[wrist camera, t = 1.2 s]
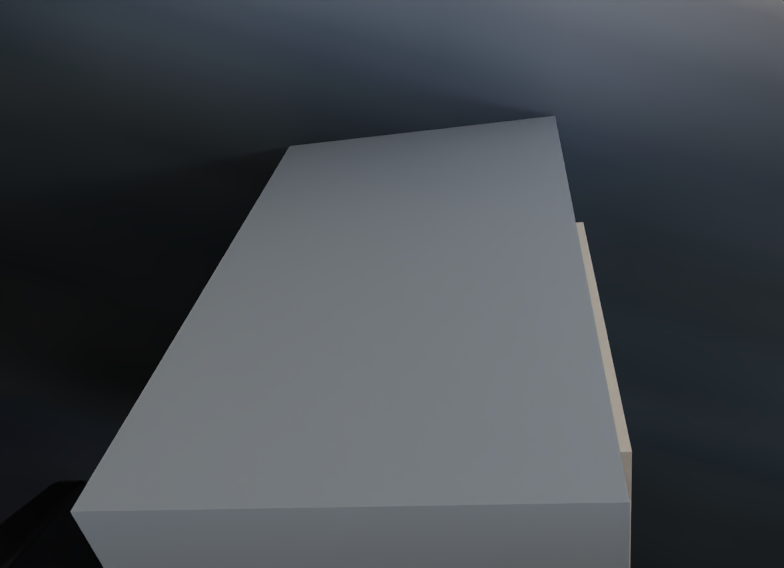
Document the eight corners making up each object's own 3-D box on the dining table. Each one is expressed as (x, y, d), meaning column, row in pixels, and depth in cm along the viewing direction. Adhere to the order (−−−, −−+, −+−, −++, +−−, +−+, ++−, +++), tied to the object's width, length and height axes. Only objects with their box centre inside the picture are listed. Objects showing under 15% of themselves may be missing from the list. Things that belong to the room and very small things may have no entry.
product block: (568, 113, 10) (663, 501, 5) (580, 420, 14) (644, 879, 8) (290, 145, 11) (69, 511, 5) (362, 428, 14) (272, 851, 9)
